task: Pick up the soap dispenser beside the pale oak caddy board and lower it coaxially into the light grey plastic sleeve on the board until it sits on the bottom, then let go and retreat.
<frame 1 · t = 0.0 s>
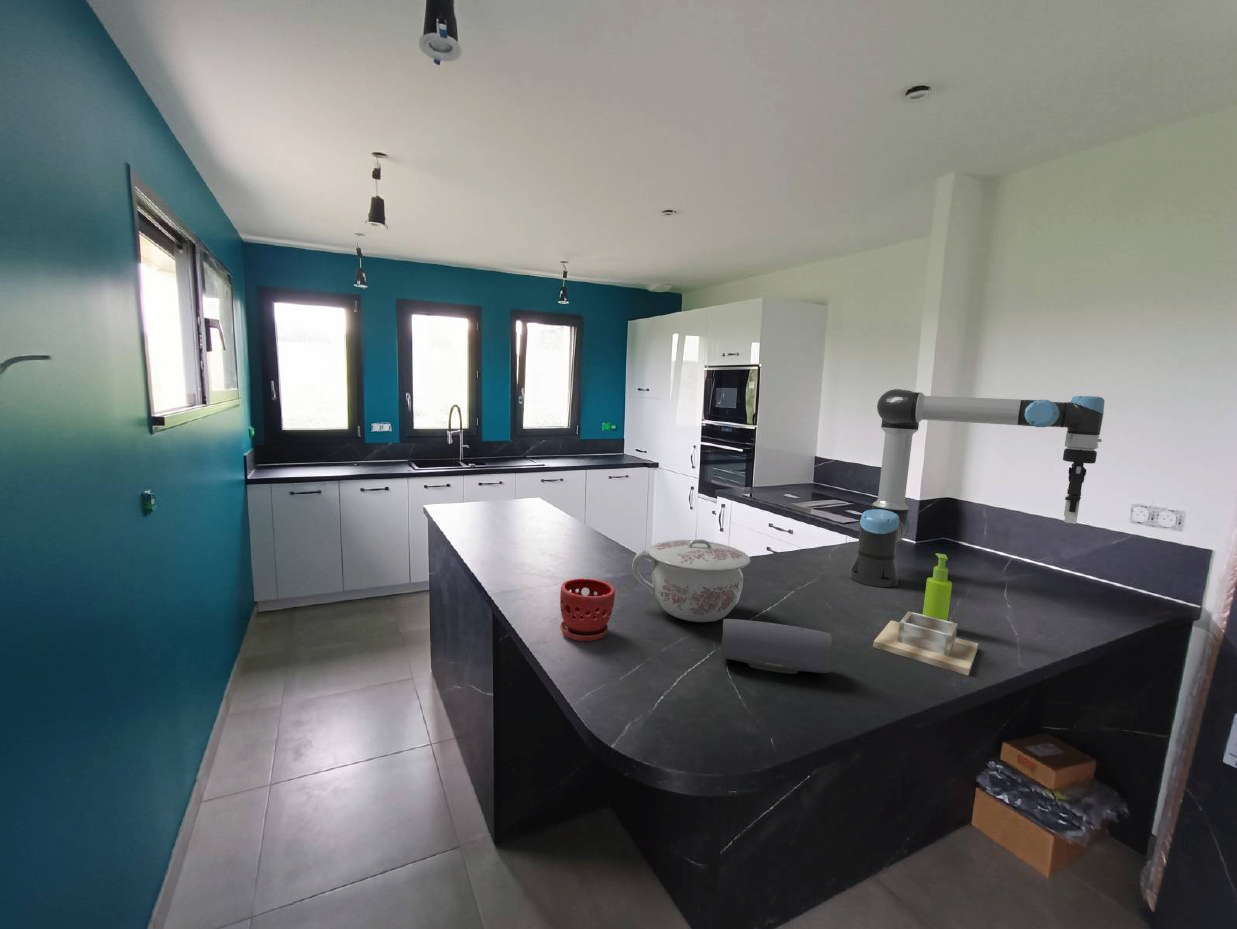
hand: (1069, 519, 166), 28 cm above the table, fingers open, 13 cm apart
bluetooth speaker: (772, 668, 123), on the table
dispenser caddy: (925, 648, 137), on the table
plant pot: (585, 634, 135), on the table
soap dispenser: (933, 627, 151), on the table
chamber pot: (693, 613, 152), on the table
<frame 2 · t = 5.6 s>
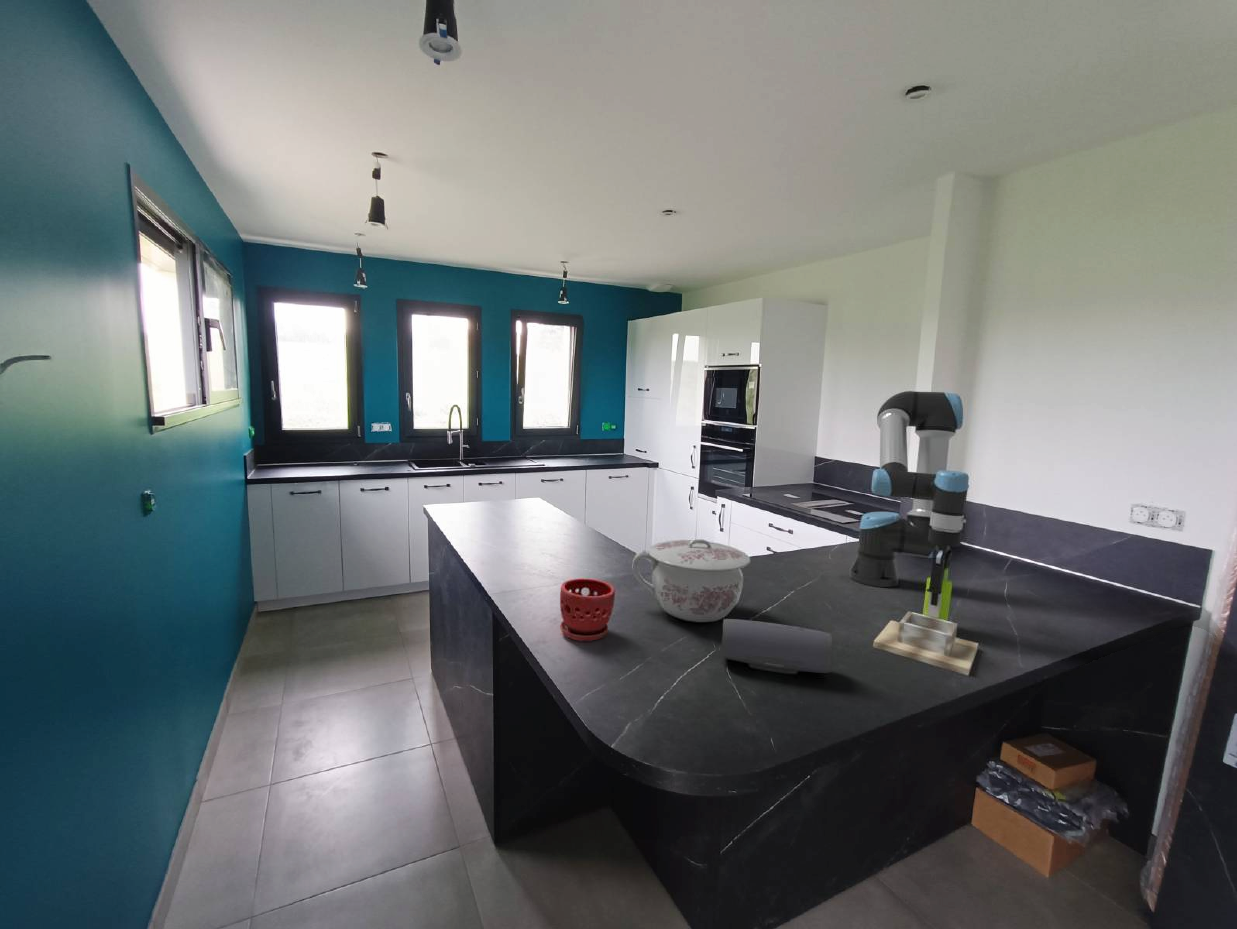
hand: (934, 612, 150), 4 cm above the table, fingers closed on soap dispenser, 6 cm apart
soap dispenser: (933, 627, 151), on the table, touching gripper
everything else where it was.
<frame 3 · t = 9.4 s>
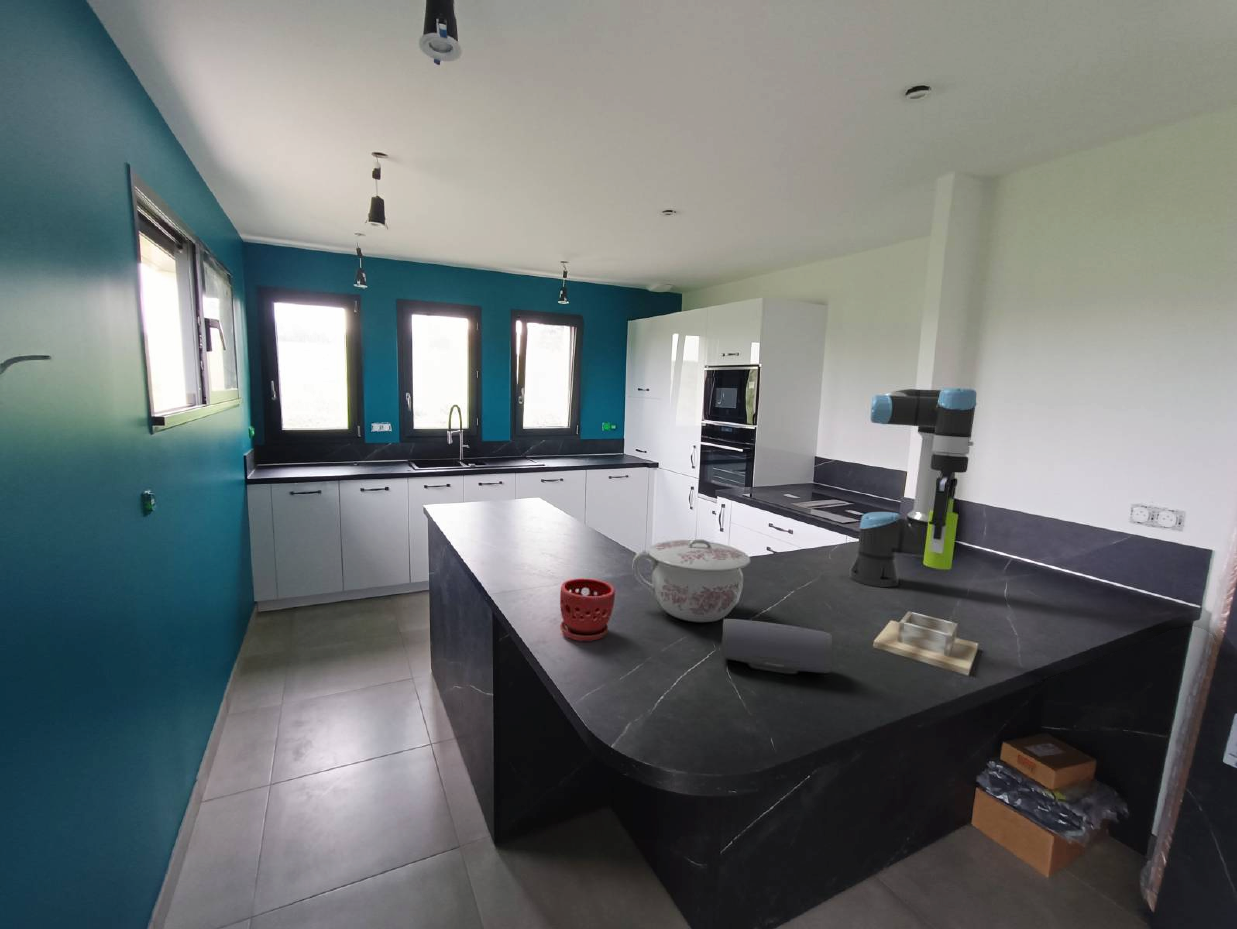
hand: (938, 549, 134), 25 cm above the table, fingers closed on soap dispenser, 6 cm apart
soap dispenser: (936, 565, 135), point 21 cm above the table, touching gripper
everything else where it was.
when the fingers open (8 cm above the table, at t = 12.8 s): soap dispenser drops 3 cm, resting on dispenser caddy.
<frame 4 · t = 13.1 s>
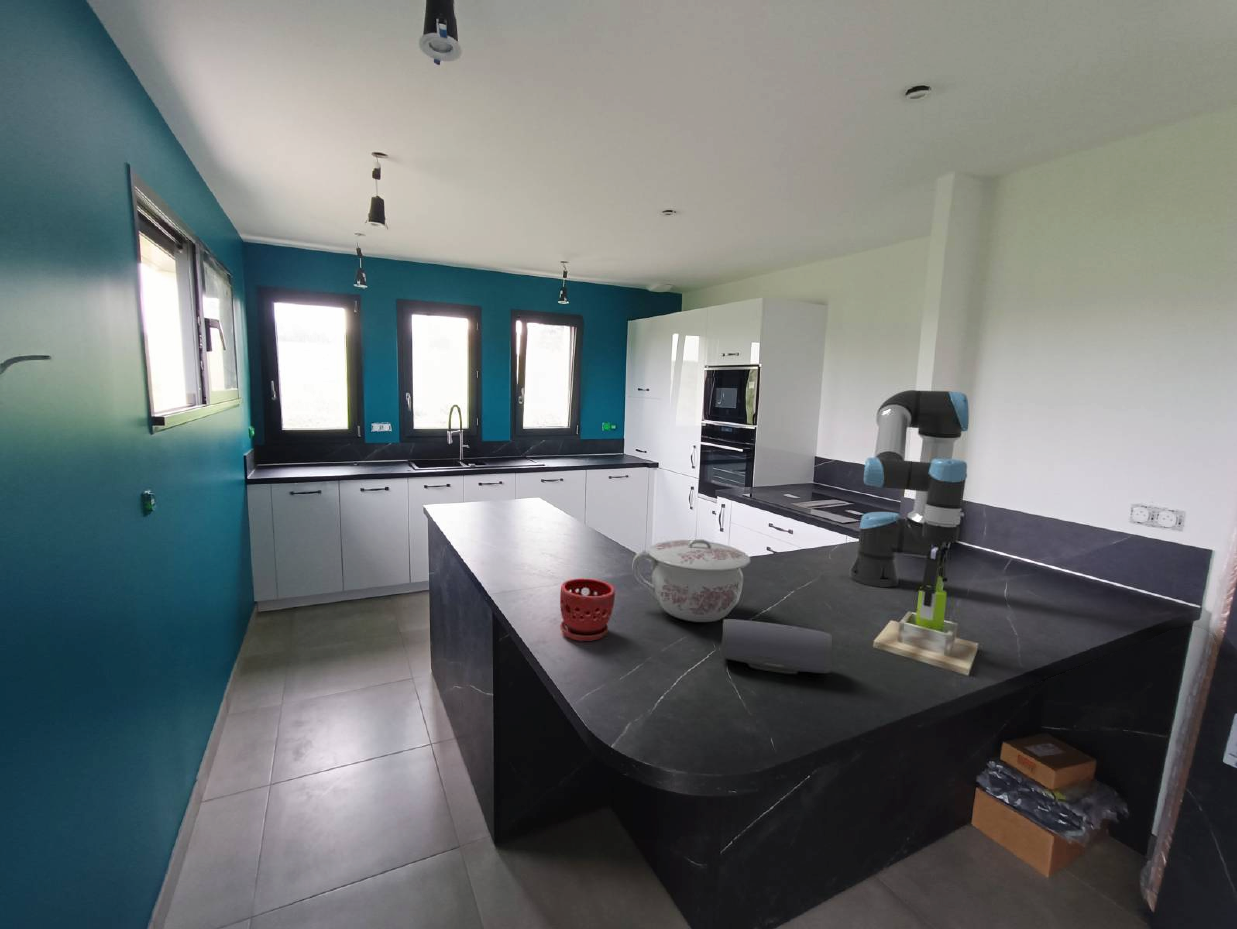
hand: (930, 612, 136), 9 cm above the table, fingers open, 10 cm apart
soap dispenser: (926, 641, 137), point 1 cm above the table, touching dispenser caddy
everything else where it was.
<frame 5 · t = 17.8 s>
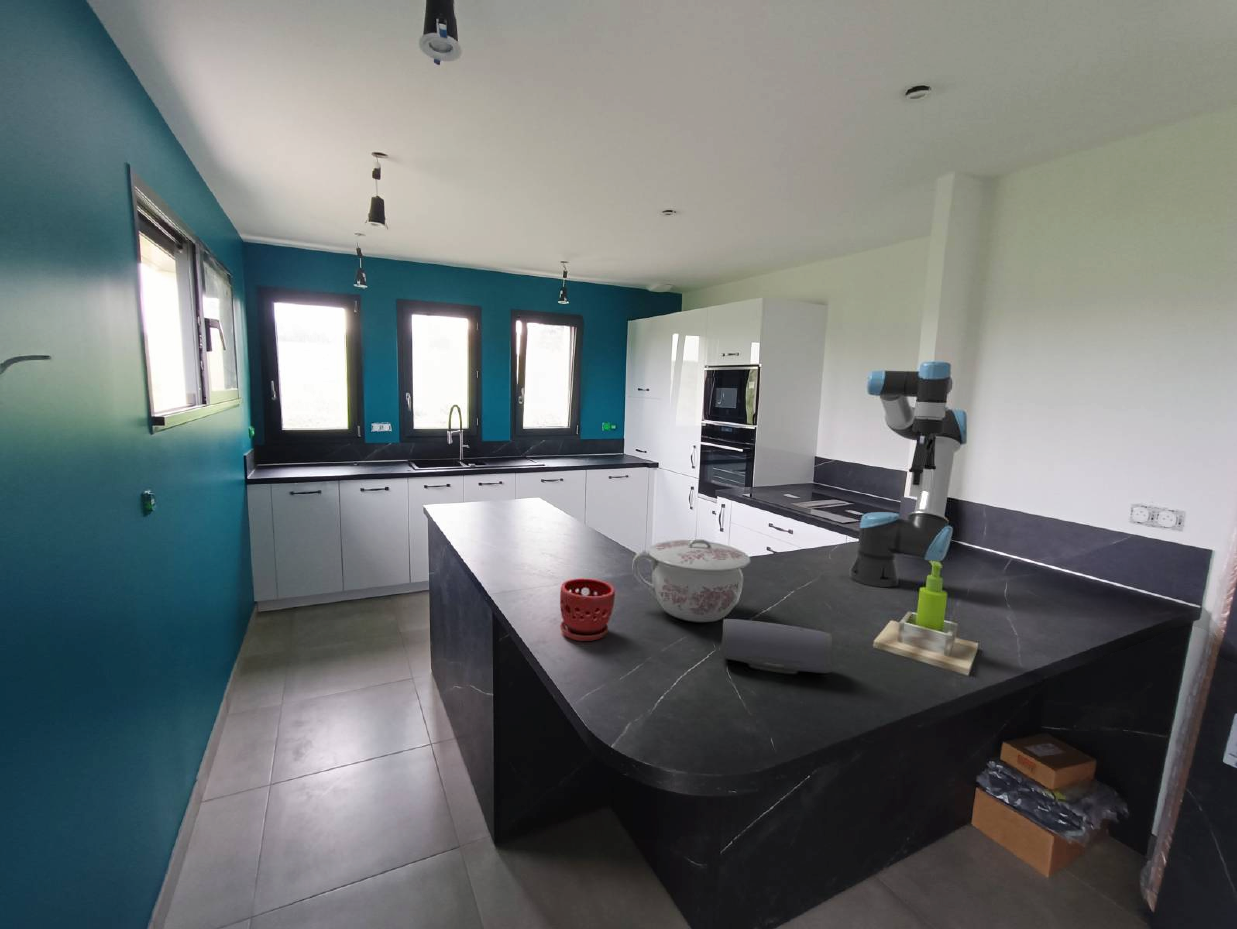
hand: (919, 494, 156), 35 cm above the table, fingers open, 13 cm apart
nothing on the table moved.
at the end: soap dispenser 0.8 cm off-centre on the dispenser caddy, point 1.3 cm above the dispenser caddy's base; soap dispenser tilted 0°; the gripper is holding nothing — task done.
